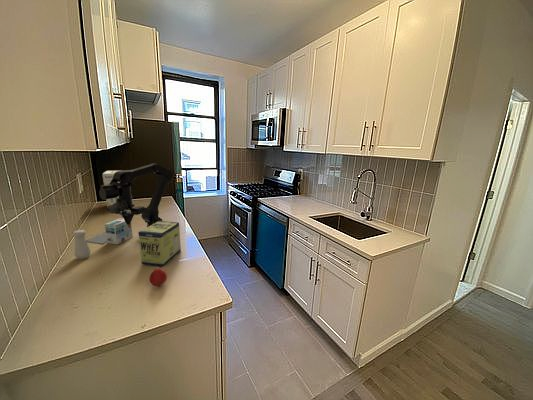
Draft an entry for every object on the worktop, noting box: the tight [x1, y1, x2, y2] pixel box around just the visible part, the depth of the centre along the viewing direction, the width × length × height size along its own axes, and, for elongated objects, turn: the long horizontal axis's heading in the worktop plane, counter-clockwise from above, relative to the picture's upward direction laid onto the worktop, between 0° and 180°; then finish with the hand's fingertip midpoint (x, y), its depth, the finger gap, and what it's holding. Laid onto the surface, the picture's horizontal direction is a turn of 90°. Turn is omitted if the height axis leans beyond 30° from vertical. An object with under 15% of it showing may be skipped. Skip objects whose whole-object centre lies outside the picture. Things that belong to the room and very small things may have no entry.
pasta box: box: [102, 170, 123, 208], centre depth 179 cm, size 18×10×28 cm, turn 26°
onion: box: [149, 266, 168, 288], centre depth 83 cm, size 6×6×8 cm
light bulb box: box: [104, 217, 133, 245], centre depth 121 cm, size 11×7×11 cm, turn 168°
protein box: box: [138, 220, 182, 268], centre depth 103 cm, size 10×16×16 cm
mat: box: [86, 231, 108, 245], centre depth 124 cm, size 12×14×1 cm
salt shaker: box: [72, 229, 91, 261], centre depth 101 cm, size 6×6×13 cm
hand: (128, 224), depth 118 cm, fingers closed
